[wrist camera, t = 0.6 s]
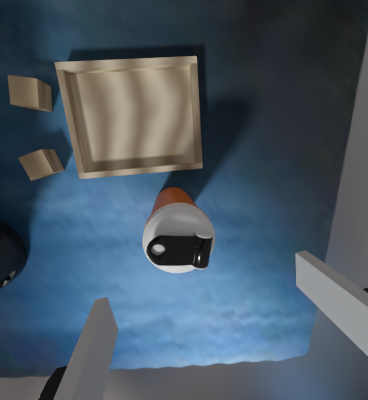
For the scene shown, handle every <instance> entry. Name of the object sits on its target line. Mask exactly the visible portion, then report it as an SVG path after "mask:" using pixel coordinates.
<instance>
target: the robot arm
mask: <svg viewBox="0 0 368 400" xmlns="http://www.w3.org/2000/svg"><path fill="white" fill-rule="evenodd" d="M25 262H26V251H25V248H24V245H23V243H22V241H21V239H20V238H19V236H18V235H17V234H16V233H15V232H14V231H13V230H12V229H11V228H9V227H8V226H7V225H5V224H3V223H1V222H0V288H2V287H4V286H6V285H7V284H9V283H10V282H11V281H12V280H13V279H15V278H16V277H17V276H18V275H19V274H20V273H21V271H22V270H23V268H24V266H25ZM296 286H297V287H298V288H299V289H300V290H301V291H302V292H303V293H304V294H305V295H306V296H308V297H309V298H310V299H311V300H312V301H313V302H314V303H315V304H316V305H317V306H318V307H319V308H320V309H321V310H322V311H323V312H324V313H325V314H326V315H327V316H328V317H329V318H330V319H331V320H332V321H333V322H334V323H335V324H336V325H337V326H338V327H339V328H340V329H341V330H342V331H343V332H344V333H345V334H346V335H347V336H348V337H349V338H350V339H351V340H352V341H353V342H354V343H355V344H356V345H357V346H358V347H359V348H360V349H361V350H362V351H363V352H364V353H365V354H366V355H367V356H368V288H366V289H361V288H360V287H358V286H357V285H355V284H354V283H352V282H351V281H350V280H348V279H347V278H345V277H344V276H342V275H341V274H339V273H338V272H336V271H335V270H333V269H332V268H331V267H329V266H328V265H326V264H325V263H323V262H322V261H320V260H319V259H318V258H316V257H315V256H313V255H312V254H310V253H309V252H307V251H301V252H297V253H296ZM117 333H118V328H117V325H116V322H115V319H114V316H113V313H112V310H111V307H110V304H109V301H108V298H107V297H105V298H101V299H97V300H95V302H94V304H93V307H92V309H91V311H90V314H89V316H88V318H87V321H86V323H85V326H84V328H83V330H82V333H81V335H80V337H79V340H78V342H77V345H76V347H75V349H74V352H73V354H72V356H71V359H70V361H69V364H68V366H64V367H60V368H57V369H56V370H55V372H54V373H53V374H52V376H51V377H50V378H49V380H48V381H47V383H46V385H45V387H44V389H43V391H42V393H41V395H40V398H39V399H38V400H103V396H104V392H105V387H106V382H107V378H108V373H109V369H110V365H111V360H112V356H113V351H114V347H115V342H116V338H117Z"/></svg>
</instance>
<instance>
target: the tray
mask: <svg viewBox="0 0 368 400" xmlns="http://www.w3.org/2000/svg"><path fill="white" fill-rule="evenodd" d="M54 63H55V67H56V72H57V77H58V81H59V86H60V91H61V95H62V100H63V105H64V109H65V114H66V119H67V123H68V128H69V133H70V137H71V142H72V147H73V151H74V156H75V161H76V165H77V170H78V175H79V179H87V178H98V177H109V176H121V175H132V174H143V173H154V172H166V171H177V170H188V169H200V168H203V164H202V145H201V126H200V108H199V89H198V70H197V56H184V57H162V58H139V59H116V60H94V61H71V62H54Z"/></svg>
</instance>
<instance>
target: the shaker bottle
mask: <svg viewBox="0 0 368 400" xmlns="http://www.w3.org/2000/svg"><path fill="white" fill-rule="evenodd" d="M214 244H215V232H214V229H213V226H212V224H211V222H210V220H209V218H208V217H207V215H206V214H205V213H204V212H203V211H202V210H201V209H199V208H198V207H197V206H196V204H195V203H194V202H193V201H192V199H191V198H190V197H189V196H188V194H187V193H186V192H185V191H184V190H182V189H180V188H177V187H169V188H166V189H164V190H163V191H161V192H160V193H159V195H158V196H157V199H156V202H155V204H154V207H153V210H152V213H151V216H150V217H149V219H148V220H147V222H146V225H145V228H144V233H143V248H144V252H145V254H146V256H147V258H148V259H149V260H150V262H151V263H152V264H154V265H155V266H156V267H158V268H159V269H161V270H163V271H167V272H171V273H184V272H189V271H191V270H194V269H206V268H207V267H208V264H209V258H210V255H211V253H212V251H213V248H214Z"/></svg>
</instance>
